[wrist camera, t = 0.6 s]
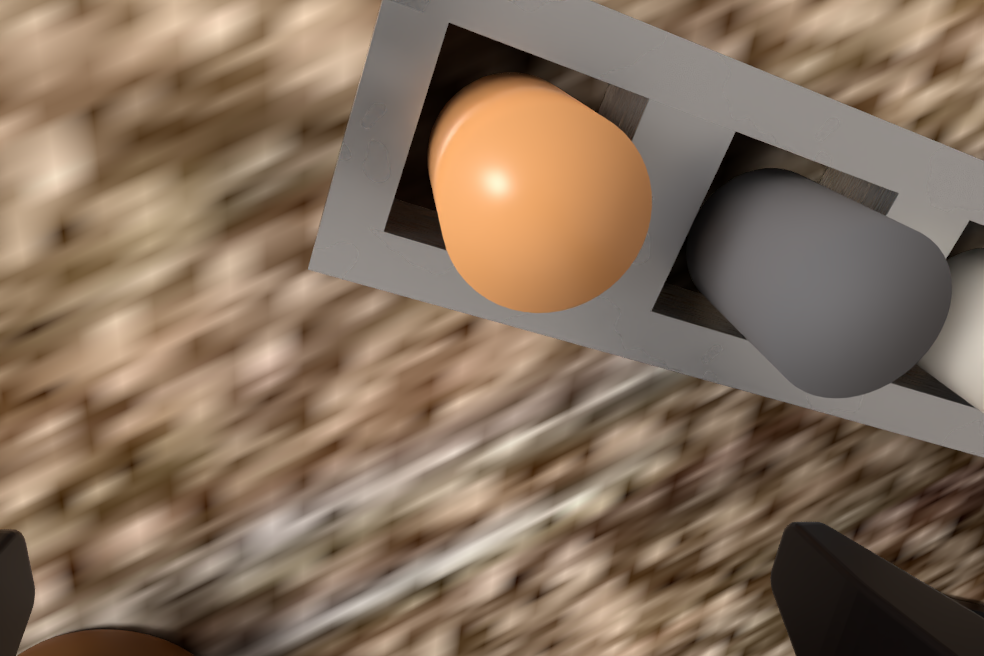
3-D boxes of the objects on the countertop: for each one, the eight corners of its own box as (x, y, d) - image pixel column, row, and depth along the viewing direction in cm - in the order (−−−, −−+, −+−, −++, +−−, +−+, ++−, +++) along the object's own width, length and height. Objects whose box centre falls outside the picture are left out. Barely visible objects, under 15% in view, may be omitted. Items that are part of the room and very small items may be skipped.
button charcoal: (856, 195, 18) (988, 256, 14) (784, 326, 19) (887, 416, 15) (728, 147, 17) (830, 198, 13) (662, 288, 18) (737, 373, 14)
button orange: (614, 105, 16) (686, 146, 12) (553, 255, 18) (602, 335, 14) (458, 46, 16) (482, 71, 12) (406, 209, 17) (412, 281, 13)
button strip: (1077, 206, 22) (1175, 238, 19) (941, 410, 24) (1011, 465, 21) (400, -67, 16) (403, -76, 14) (318, 227, 19) (307, 269, 16)
